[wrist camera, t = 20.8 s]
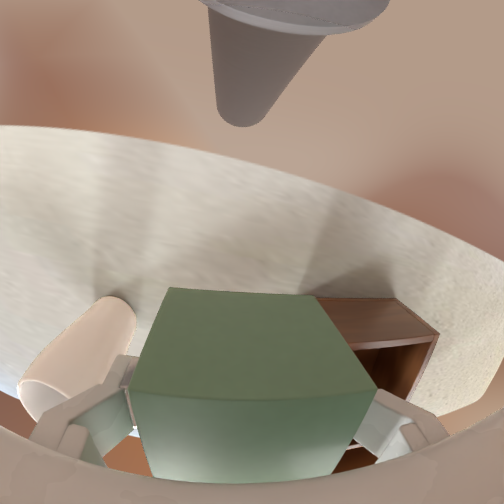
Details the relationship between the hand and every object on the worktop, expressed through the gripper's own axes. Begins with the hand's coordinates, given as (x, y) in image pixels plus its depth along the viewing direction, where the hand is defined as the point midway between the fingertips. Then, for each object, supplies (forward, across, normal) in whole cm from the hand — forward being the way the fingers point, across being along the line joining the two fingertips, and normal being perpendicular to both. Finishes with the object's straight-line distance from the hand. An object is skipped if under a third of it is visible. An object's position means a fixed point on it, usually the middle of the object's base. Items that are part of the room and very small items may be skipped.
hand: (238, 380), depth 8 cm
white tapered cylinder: (+18, +12, +9) cm, 24 cm away
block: (+2, 0, 0) cm, 2 cm away
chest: (+18, -13, +13) cm, 26 cm away
